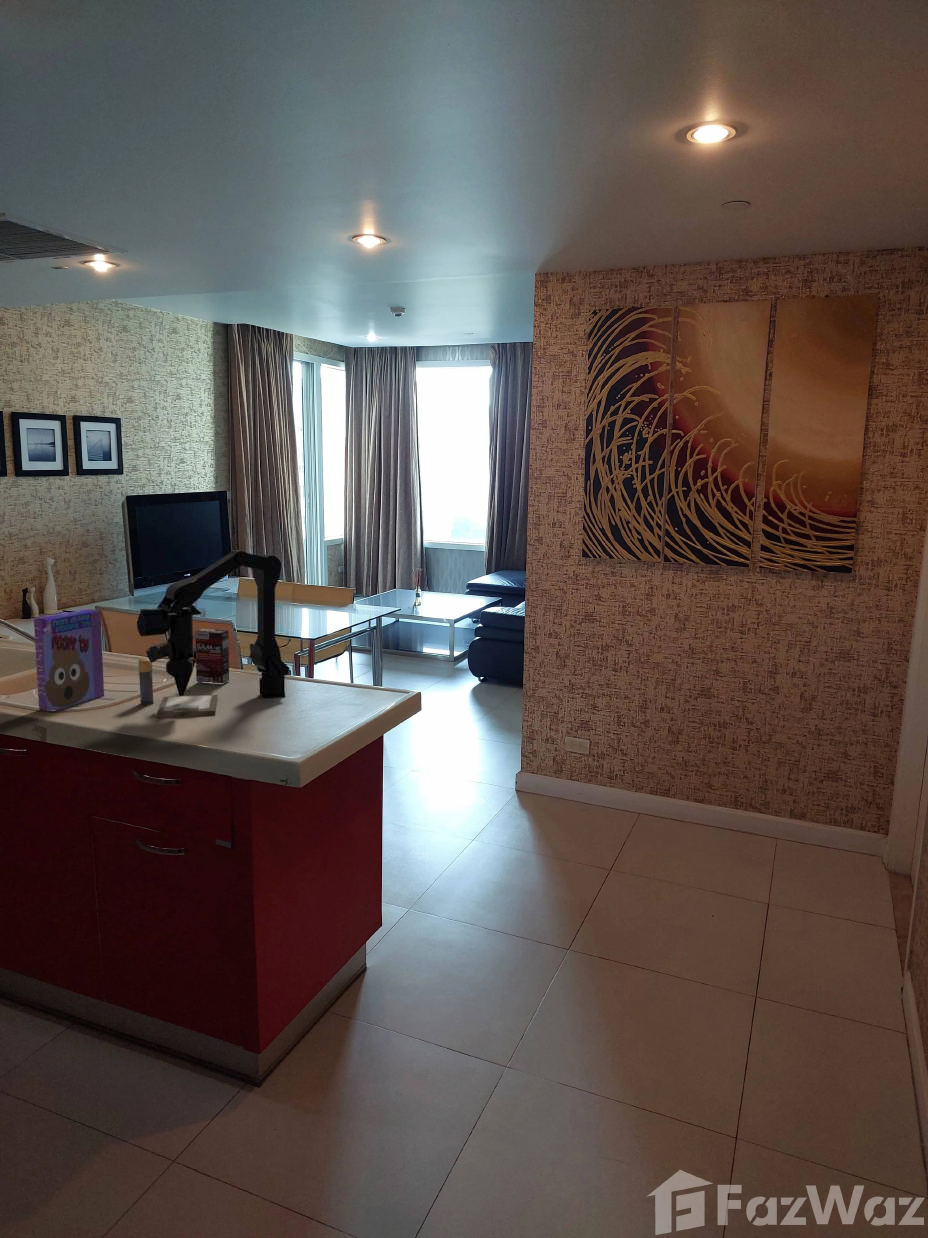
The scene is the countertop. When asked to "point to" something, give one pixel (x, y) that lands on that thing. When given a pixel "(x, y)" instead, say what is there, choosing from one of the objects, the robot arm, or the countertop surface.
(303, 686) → the countertop surface
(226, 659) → the supplement box
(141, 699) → the marker
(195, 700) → the clipboard
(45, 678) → the cereal box
